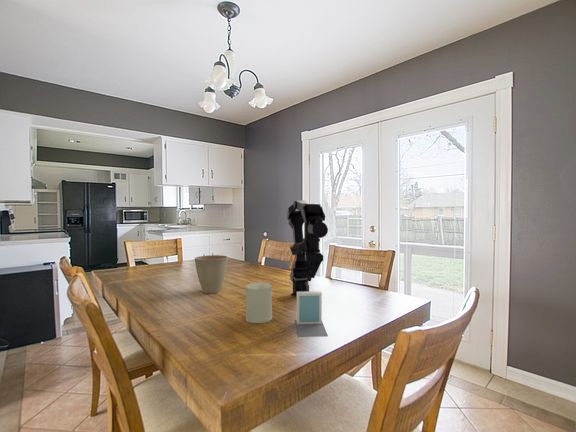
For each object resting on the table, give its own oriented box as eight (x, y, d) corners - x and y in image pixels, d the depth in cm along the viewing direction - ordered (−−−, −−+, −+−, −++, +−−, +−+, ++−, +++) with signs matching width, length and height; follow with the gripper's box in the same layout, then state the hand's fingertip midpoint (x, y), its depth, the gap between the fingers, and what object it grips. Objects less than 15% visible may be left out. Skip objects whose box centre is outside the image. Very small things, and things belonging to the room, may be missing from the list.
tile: (296, 321, 96) (296, 291, 96) (320, 321, 96) (320, 291, 96) (297, 324, 94) (297, 293, 94) (321, 324, 94) (321, 293, 94)
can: (251, 326, 94) (250, 289, 93) (241, 317, 102) (241, 282, 102) (276, 321, 98) (276, 285, 98) (266, 312, 106) (266, 280, 106)
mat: (294, 321, 98) (294, 320, 98) (321, 320, 98) (321, 319, 98) (297, 338, 85) (297, 336, 85) (328, 337, 85) (328, 336, 85)
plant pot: (234, 290, 136) (234, 256, 136) (210, 298, 124) (210, 260, 124) (212, 285, 144) (212, 253, 144) (187, 293, 132) (187, 258, 132)
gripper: (289, 233, 121) (289, 271, 121) (292, 238, 102) (292, 282, 103) (316, 233, 121) (316, 270, 122) (323, 237, 103) (323, 281, 103)
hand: (311, 275), depth 112 cm, fingers open, 7 cm apart
